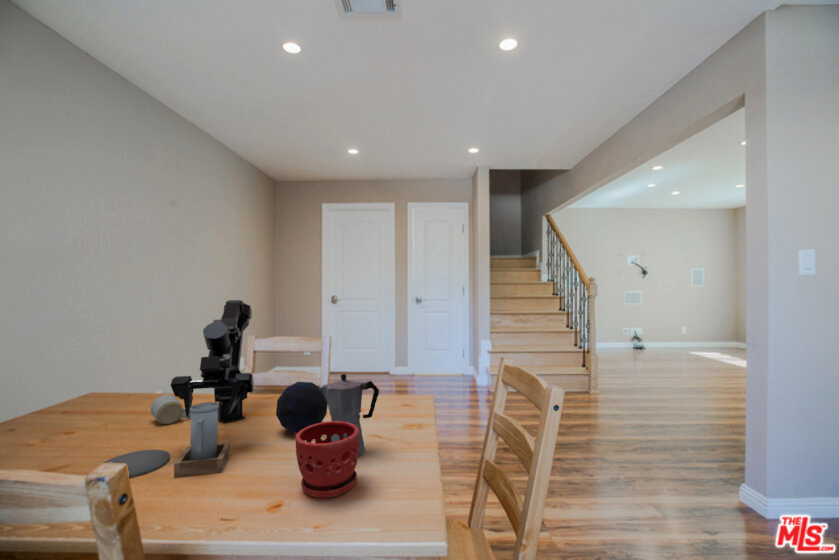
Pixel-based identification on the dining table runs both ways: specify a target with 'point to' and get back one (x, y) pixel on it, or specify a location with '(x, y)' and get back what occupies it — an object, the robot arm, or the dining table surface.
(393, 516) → the dining table surface
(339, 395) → the moka pot
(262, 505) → the dining table surface
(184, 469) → the jug holder
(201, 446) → the jug
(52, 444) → the dining table surface
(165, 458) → the rubber mat
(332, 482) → the plant pot
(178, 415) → the ceramic mug
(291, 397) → the decorative orb
